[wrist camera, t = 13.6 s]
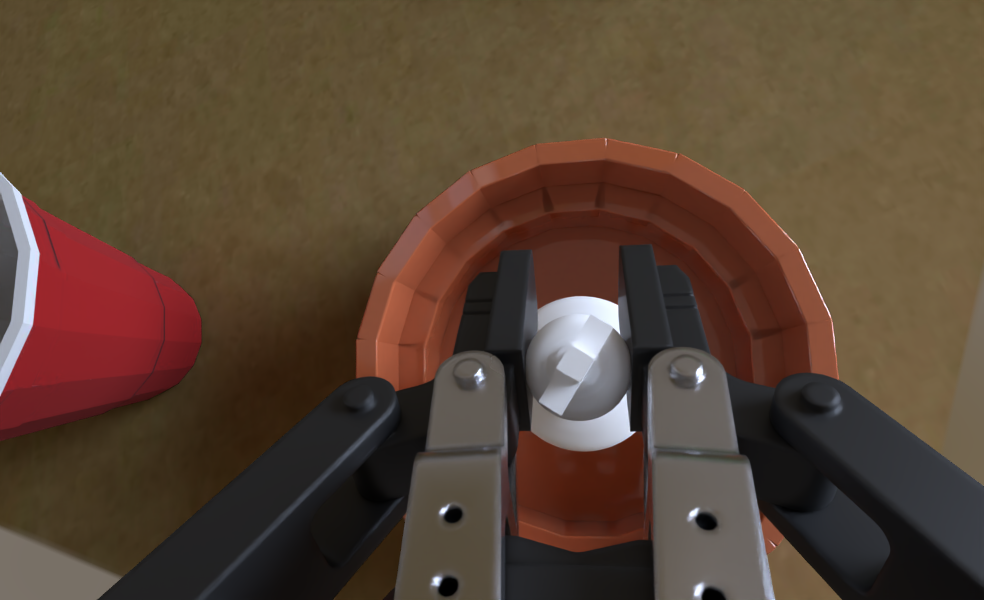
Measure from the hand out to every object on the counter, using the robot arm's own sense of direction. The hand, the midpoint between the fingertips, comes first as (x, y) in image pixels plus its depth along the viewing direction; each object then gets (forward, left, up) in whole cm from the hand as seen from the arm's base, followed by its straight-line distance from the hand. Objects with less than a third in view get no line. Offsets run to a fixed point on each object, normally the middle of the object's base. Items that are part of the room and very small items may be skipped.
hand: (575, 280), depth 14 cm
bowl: (+1, -2, -11) cm, 11 cm away
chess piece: (+1, -2, -6) cm, 6 cm away
